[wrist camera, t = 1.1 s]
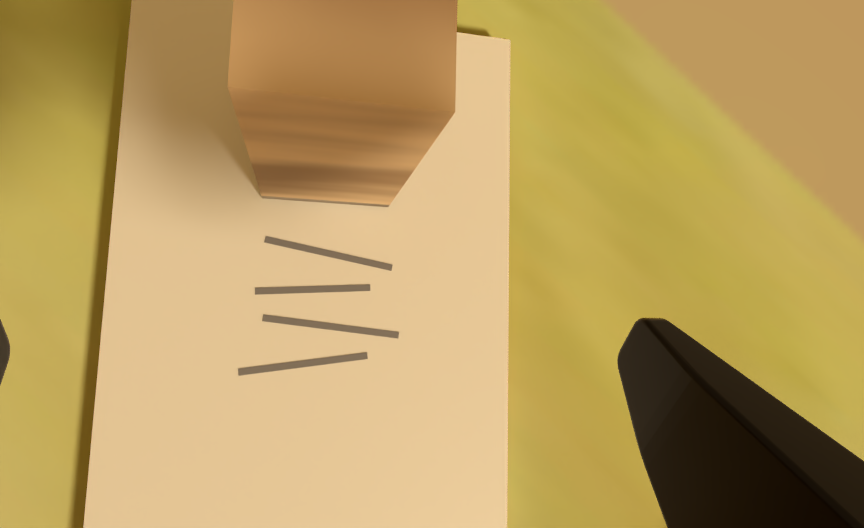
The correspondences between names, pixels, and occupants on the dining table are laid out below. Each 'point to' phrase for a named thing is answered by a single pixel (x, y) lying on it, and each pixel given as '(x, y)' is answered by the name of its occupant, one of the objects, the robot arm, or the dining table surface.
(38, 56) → the dining table surface
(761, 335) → the dining table surface
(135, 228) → the board
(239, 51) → the block
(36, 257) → the dining table surface
